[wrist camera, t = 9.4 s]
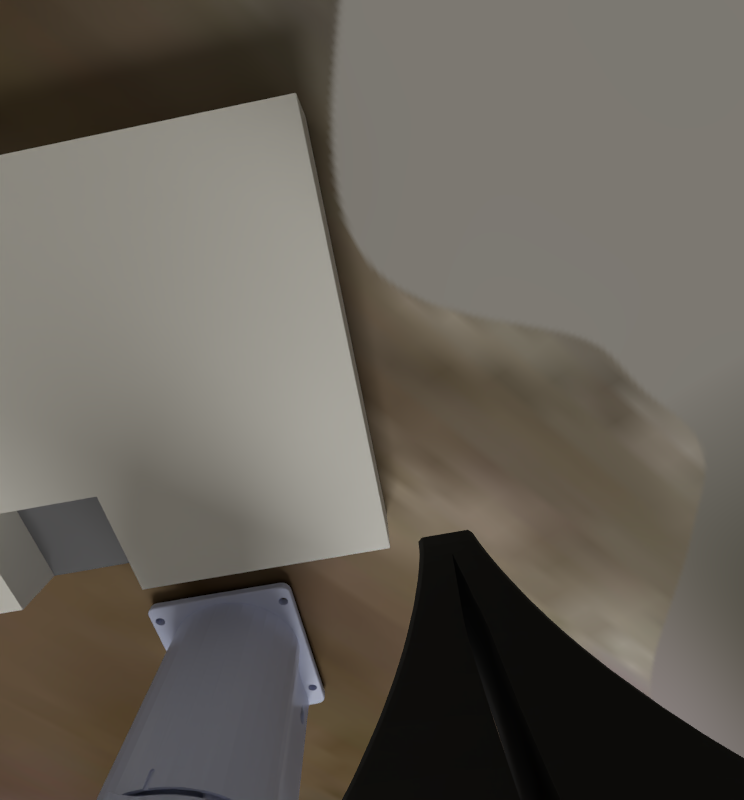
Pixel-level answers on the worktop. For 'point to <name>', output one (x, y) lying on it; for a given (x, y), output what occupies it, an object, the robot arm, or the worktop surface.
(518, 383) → the worktop surface
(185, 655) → the robot arm
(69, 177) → the trap deck
